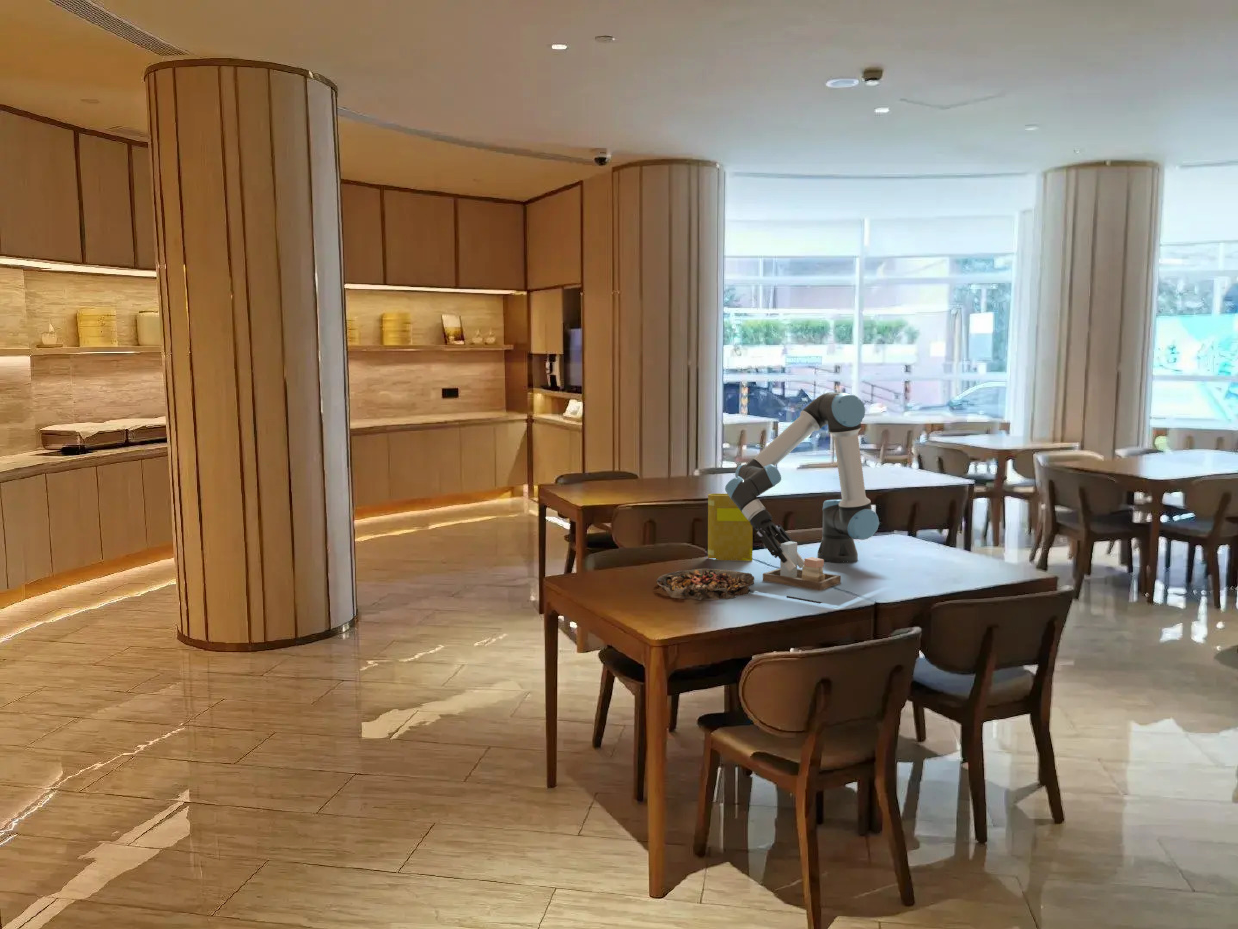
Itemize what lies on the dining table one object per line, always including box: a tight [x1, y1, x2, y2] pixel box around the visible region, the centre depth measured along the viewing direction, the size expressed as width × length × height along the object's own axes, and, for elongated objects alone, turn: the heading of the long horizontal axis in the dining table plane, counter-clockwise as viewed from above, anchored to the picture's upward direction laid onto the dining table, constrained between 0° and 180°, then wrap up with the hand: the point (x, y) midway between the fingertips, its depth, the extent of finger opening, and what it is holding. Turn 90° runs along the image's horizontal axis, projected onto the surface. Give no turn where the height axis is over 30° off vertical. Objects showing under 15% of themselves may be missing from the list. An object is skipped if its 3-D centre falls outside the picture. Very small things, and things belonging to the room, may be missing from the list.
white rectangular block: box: [779, 541, 798, 578], centre depth 329 cm, size 6×3×12 cm, turn 139°
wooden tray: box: [762, 568, 842, 591], centre depth 326 cm, size 14×22×4 cm, turn 49°
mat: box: [786, 595, 823, 604], centre depth 310 cm, size 12×12×1 cm
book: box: [707, 493, 754, 562], centre depth 368 cm, size 17×7×25 cm, turn 84°
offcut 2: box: [801, 566, 824, 577], centre depth 323 cm, size 4×6×3 cm
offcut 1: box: [803, 556, 825, 568], centre depth 323 cm, size 4×5×2 cm
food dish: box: [656, 567, 756, 601], centre depth 323 cm, size 35×33×8 cm
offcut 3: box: [802, 575, 825, 582], centre depth 323 cm, size 5×6×3 cm
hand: (797, 567), depth 327 cm, fingers closed on white rectangular block, 6 cm apart
